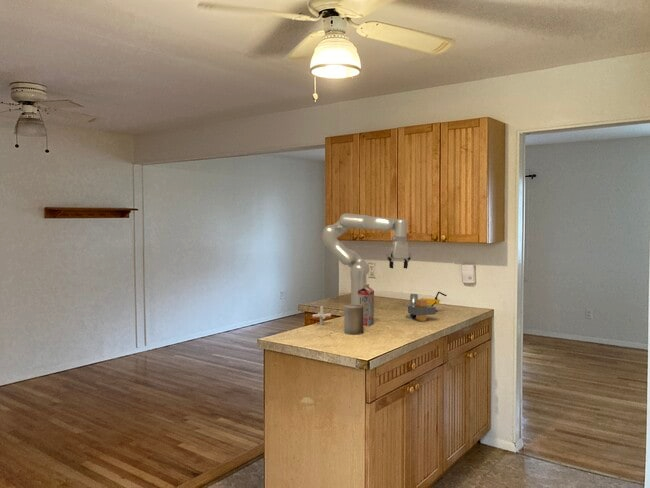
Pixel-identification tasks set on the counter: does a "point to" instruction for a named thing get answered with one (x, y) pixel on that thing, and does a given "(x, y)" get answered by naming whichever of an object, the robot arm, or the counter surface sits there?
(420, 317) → the wooden block
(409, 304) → the block with square hole
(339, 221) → the robot arm
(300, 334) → the counter surface
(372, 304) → the juice carton
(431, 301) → the robot dog
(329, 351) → the counter surface
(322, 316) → the pipe connector
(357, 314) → the pillar candle
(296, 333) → the counter surface
